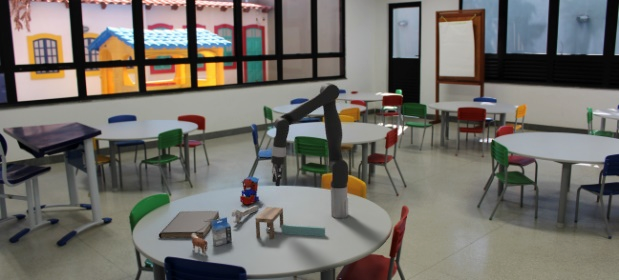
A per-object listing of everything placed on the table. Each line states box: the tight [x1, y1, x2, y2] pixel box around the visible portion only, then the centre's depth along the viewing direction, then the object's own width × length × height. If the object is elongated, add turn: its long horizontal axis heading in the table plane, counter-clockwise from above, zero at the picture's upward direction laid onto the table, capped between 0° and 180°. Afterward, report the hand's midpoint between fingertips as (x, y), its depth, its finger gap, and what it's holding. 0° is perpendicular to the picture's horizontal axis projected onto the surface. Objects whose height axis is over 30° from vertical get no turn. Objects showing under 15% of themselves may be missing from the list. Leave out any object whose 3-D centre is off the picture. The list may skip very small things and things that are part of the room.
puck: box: [265, 226, 275, 234], centre depth 281 cm, size 4×4×2 cm
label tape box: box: [211, 217, 233, 247], centre depth 266 cm, size 9×4×12 cm, turn 126°
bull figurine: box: [189, 233, 208, 256], centre depth 257 cm, size 4×13×8 cm, turn 41°
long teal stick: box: [280, 224, 326, 237], centre depth 276 cm, size 23×2×4 cm, turn 75°
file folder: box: [158, 210, 220, 239], centre depth 292 cm, size 33×4×24 cm
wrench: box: [231, 205, 259, 224], centre depth 303 cm, size 8×2×30 cm
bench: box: [255, 206, 284, 240], centre depth 280 cm, size 9×18×10 cm, turn 166°
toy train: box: [239, 176, 260, 205], centre depth 330 cm, size 10×16×15 cm, turn 172°
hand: (275, 183), depth 289 cm, fingers open, 8 cm apart
